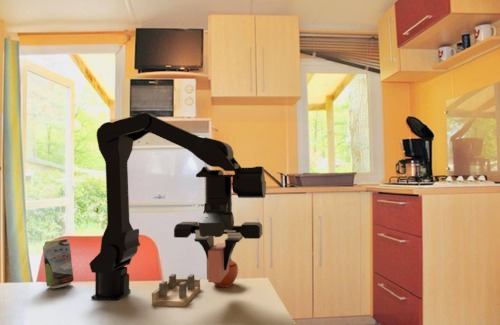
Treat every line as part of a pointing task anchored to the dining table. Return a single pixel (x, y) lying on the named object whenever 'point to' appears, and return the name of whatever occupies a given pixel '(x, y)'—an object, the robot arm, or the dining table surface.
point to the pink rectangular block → (216, 263)
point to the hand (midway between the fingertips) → (219, 269)
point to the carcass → (176, 291)
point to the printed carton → (58, 263)
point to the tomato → (229, 275)
